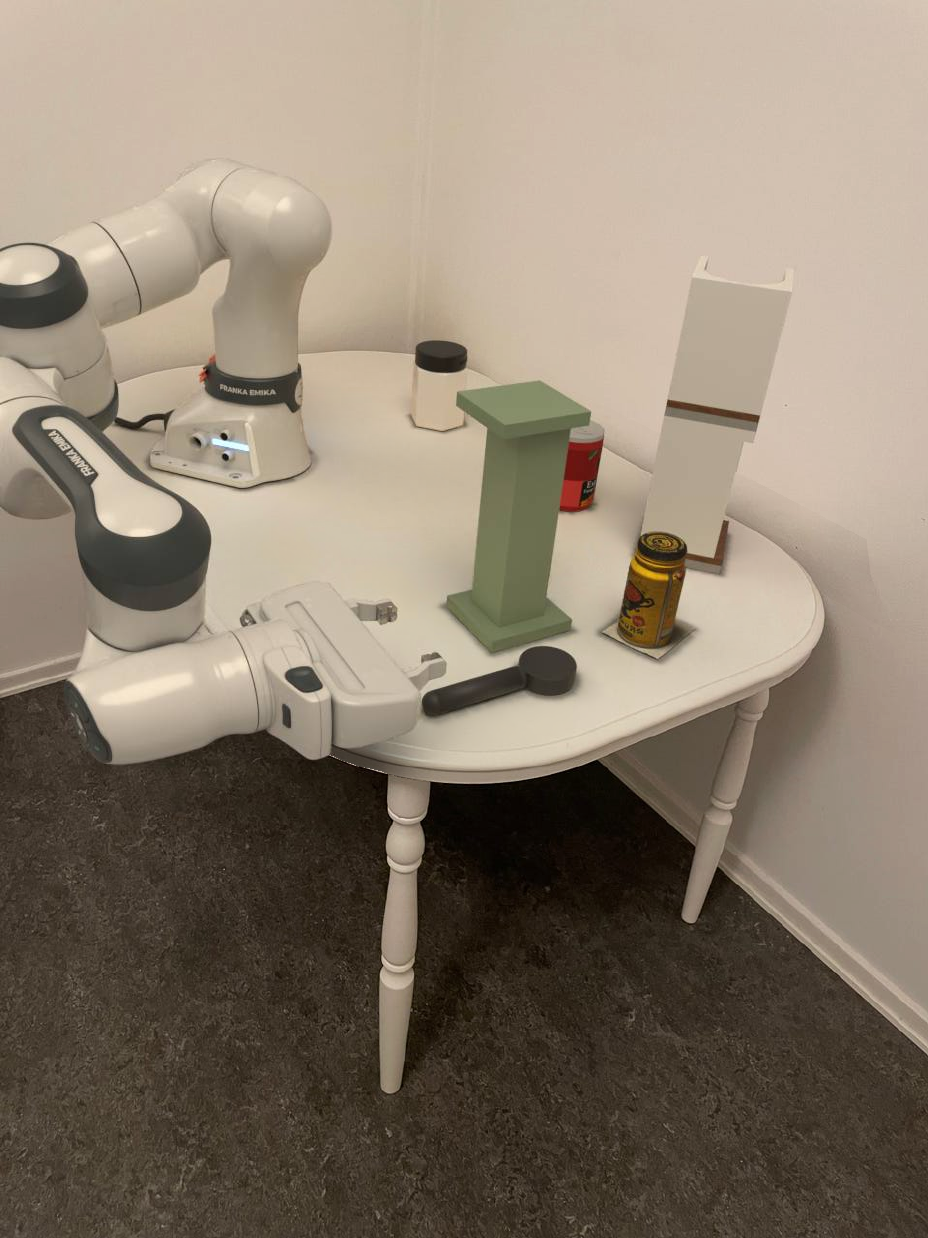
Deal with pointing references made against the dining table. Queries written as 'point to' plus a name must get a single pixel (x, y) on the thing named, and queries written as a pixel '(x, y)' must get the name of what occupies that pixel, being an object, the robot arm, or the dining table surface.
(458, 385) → the jar
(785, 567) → the dining table surface
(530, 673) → the dark grey paddle
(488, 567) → the stand
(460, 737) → the dining table surface
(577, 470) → the canned food
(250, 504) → the dining table surface
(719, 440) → the white channel column
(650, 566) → the condiment
